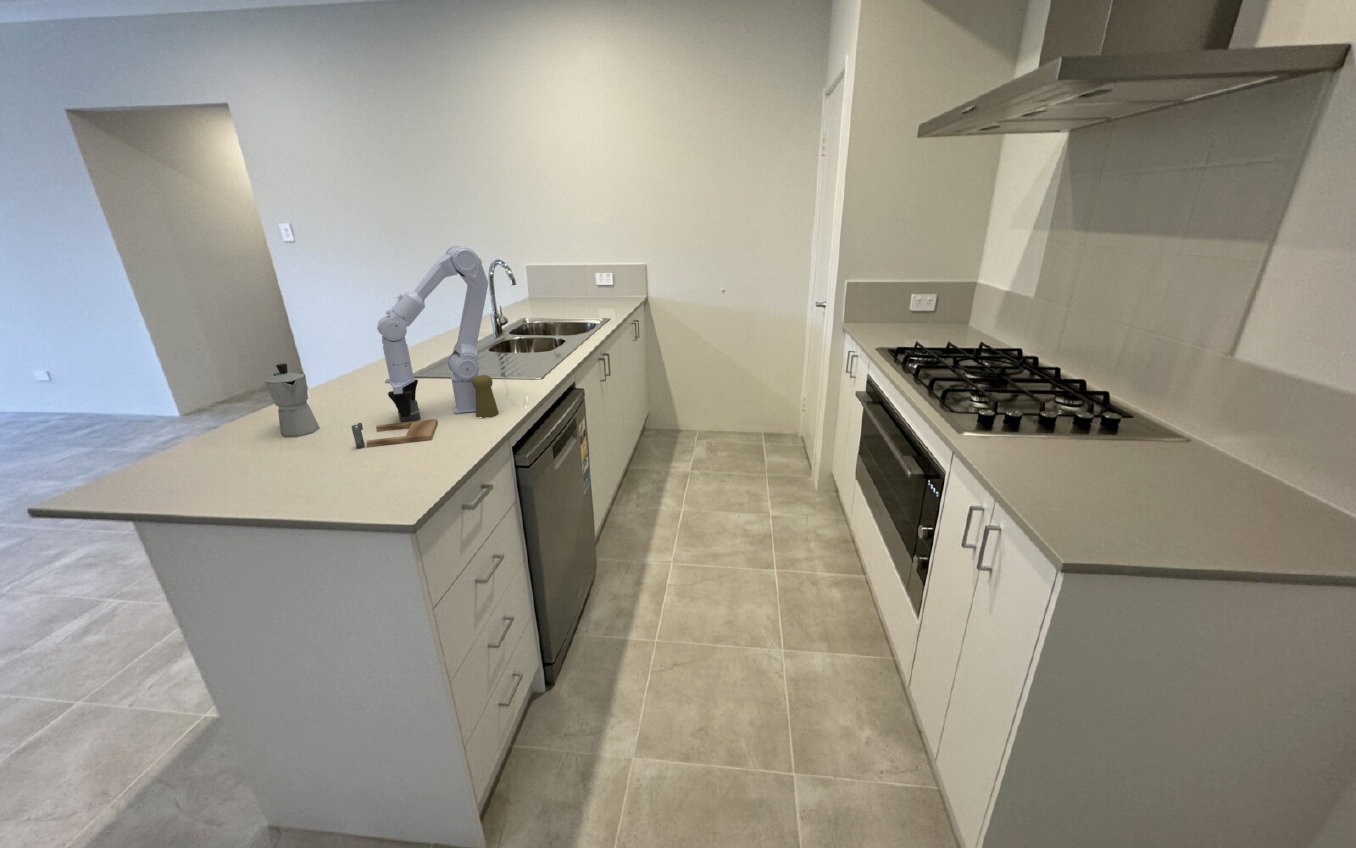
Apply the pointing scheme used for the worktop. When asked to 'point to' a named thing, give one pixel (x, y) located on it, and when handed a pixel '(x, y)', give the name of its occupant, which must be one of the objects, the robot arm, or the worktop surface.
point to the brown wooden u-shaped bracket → (415, 433)
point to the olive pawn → (484, 397)
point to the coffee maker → (291, 402)
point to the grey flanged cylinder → (414, 413)
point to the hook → (358, 435)
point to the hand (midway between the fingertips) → (408, 411)
